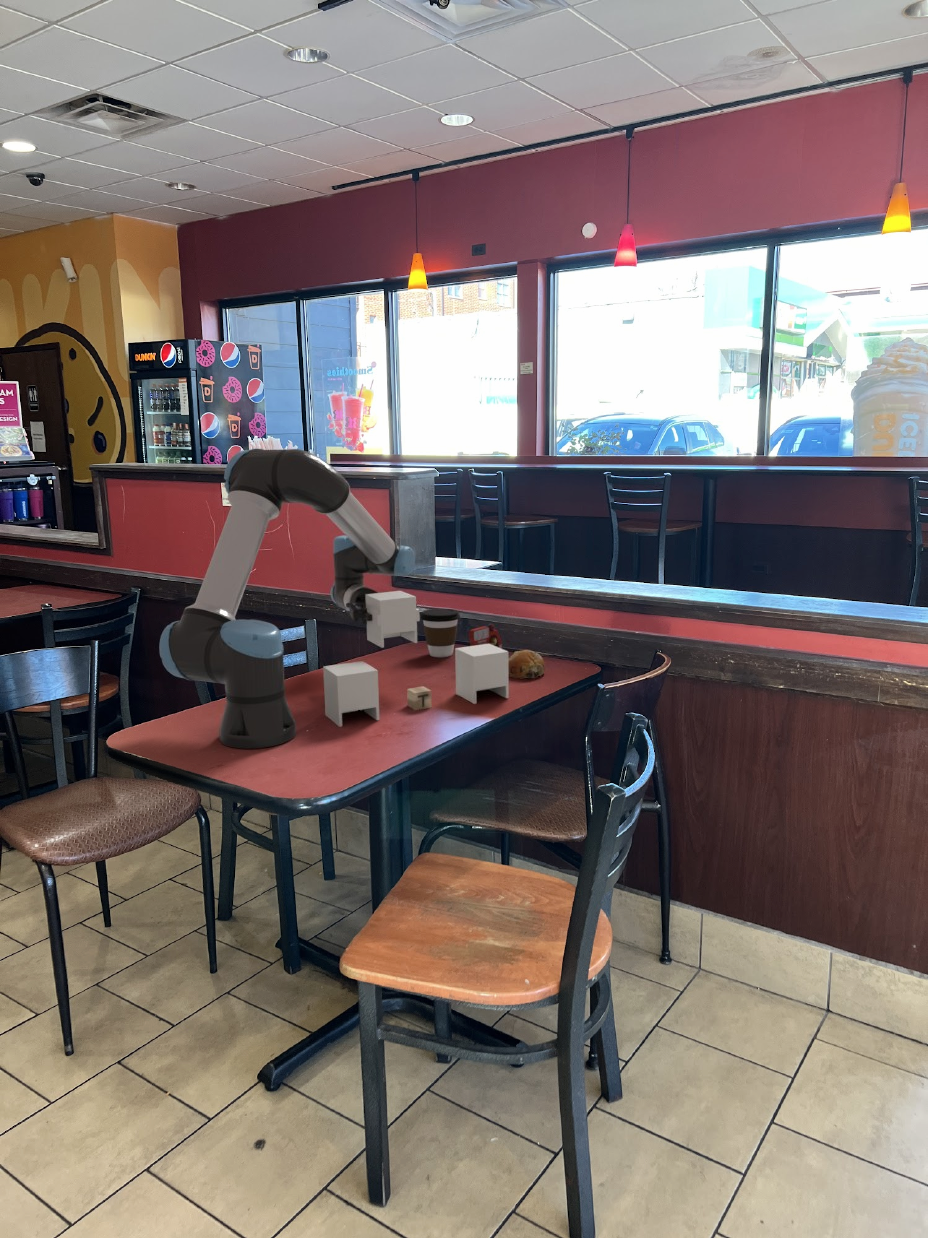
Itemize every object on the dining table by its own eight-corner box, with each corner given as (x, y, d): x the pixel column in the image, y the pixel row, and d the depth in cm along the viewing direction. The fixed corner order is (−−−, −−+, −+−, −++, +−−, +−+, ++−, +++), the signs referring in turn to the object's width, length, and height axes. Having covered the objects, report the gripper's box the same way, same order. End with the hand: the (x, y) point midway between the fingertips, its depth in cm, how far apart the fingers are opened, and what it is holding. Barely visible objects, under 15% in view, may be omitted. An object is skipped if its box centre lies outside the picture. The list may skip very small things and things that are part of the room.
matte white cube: (339, 726, 186) (337, 676, 184) (325, 715, 194) (323, 666, 191) (379, 720, 190) (377, 670, 188) (364, 708, 198) (362, 661, 195)
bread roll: (545, 684, 228) (545, 654, 230) (544, 678, 218) (545, 646, 220) (506, 684, 229) (507, 653, 230) (504, 677, 219) (505, 645, 221)
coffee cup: (443, 647, 253) (443, 606, 250) (468, 654, 244) (468, 612, 242) (413, 654, 246) (412, 611, 243) (437, 661, 237) (436, 617, 235)
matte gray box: (474, 703, 200) (473, 656, 198) (455, 693, 208) (455, 648, 206) (508, 698, 204) (508, 651, 202) (489, 688, 212) (489, 643, 210)
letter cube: (415, 710, 196) (414, 693, 195) (407, 706, 200) (407, 688, 199) (431, 707, 198) (431, 690, 197) (423, 703, 202) (423, 686, 201)
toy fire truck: (510, 661, 237) (510, 623, 235) (481, 671, 228) (481, 631, 226) (490, 657, 242) (490, 620, 239) (461, 666, 232) (460, 628, 230)
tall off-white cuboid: (381, 647, 204) (380, 600, 201) (367, 639, 212) (365, 594, 209) (417, 642, 208) (416, 596, 206) (401, 635, 216) (400, 590, 213)
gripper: (403, 611, 230) (441, 628, 210) (322, 621, 220) (355, 639, 200) (402, 583, 228) (440, 597, 209) (321, 591, 218) (353, 606, 199)
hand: (398, 617), depth 204 cm, fingers closed on tall off-white cuboid, 9 cm apart
